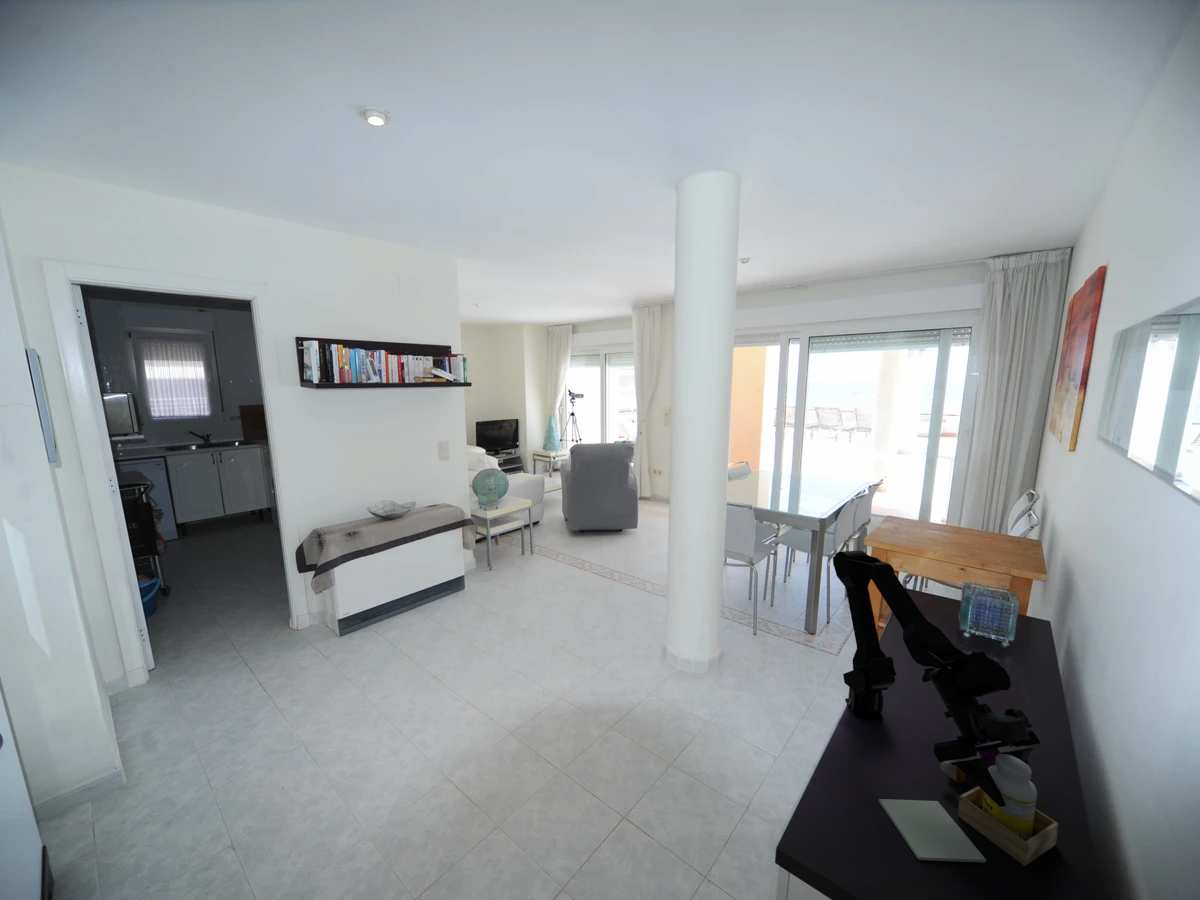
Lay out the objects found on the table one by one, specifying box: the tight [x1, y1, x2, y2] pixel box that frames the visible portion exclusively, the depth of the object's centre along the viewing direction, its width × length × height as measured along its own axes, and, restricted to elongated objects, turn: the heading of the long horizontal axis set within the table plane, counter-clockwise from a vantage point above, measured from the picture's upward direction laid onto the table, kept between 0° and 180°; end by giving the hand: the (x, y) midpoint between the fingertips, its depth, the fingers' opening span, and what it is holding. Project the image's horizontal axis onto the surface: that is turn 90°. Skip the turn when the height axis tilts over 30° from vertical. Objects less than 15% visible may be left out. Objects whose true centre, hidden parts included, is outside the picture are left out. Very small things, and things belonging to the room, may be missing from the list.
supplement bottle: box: [981, 754, 1038, 841], centre depth 79 cm, size 7×7×13 cm
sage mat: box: [878, 798, 987, 863], centre depth 80 cm, size 11×11×1 cm
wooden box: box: [957, 785, 1059, 867], centre depth 80 cm, size 10×10×4 cm
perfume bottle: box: [939, 740, 1000, 784], centre depth 92 cm, size 8×8×18 cm
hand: (1018, 802), depth 78 cm, fingers closed on supplement bottle, 7 cm apart
